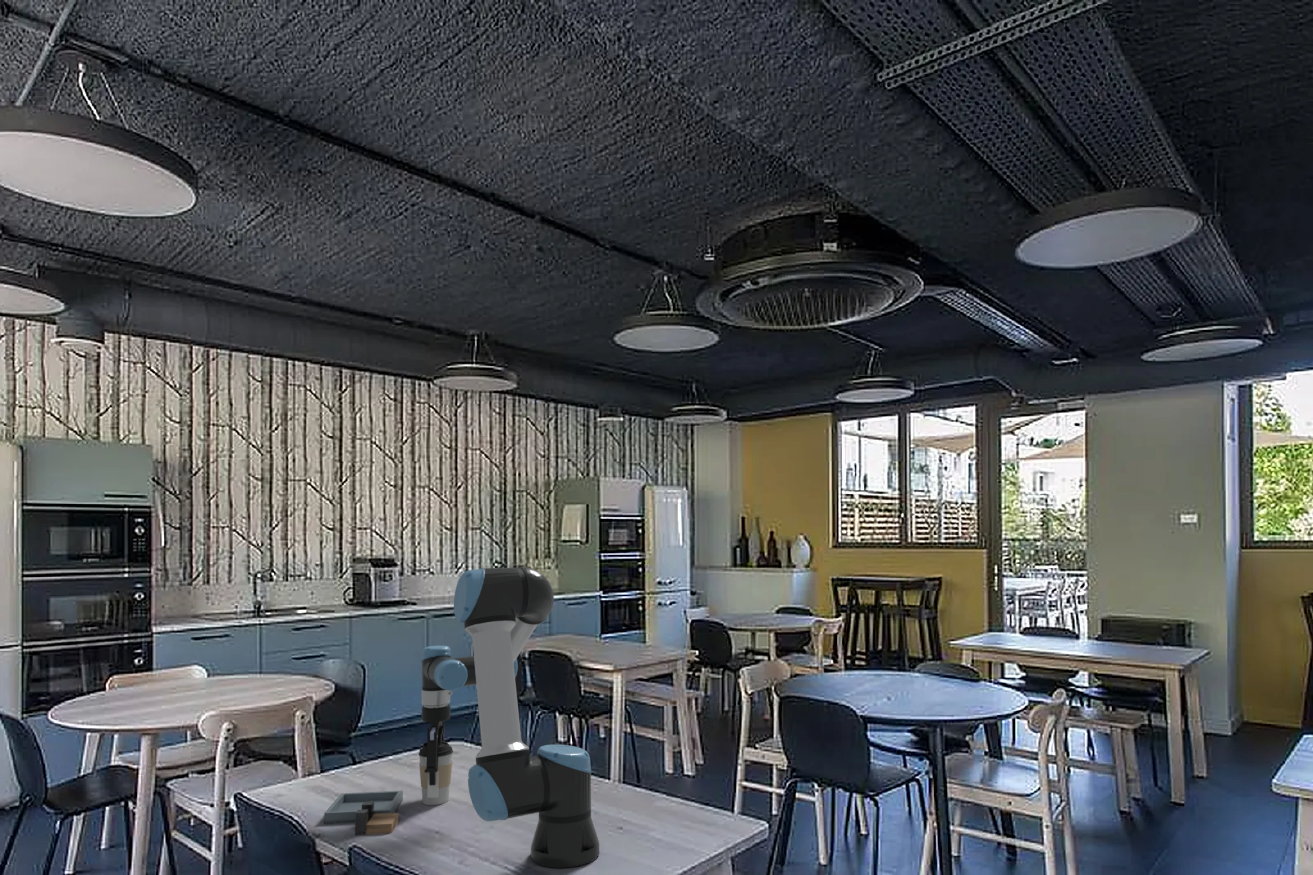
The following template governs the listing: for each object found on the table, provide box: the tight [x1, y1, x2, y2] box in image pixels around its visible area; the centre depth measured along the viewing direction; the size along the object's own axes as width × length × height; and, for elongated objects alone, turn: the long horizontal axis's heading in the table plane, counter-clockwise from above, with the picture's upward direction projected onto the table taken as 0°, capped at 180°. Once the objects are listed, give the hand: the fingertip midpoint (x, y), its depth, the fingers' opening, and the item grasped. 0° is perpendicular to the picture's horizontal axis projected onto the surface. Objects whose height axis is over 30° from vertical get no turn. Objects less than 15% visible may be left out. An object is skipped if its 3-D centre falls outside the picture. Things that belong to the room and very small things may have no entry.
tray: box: [323, 790, 404, 825], centre depth 227 cm, size 16×16×2 cm
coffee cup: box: [418, 741, 454, 806], centre depth 235 cm, size 9×9×15 cm
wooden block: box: [365, 812, 400, 835], centre depth 215 cm, size 8×6×2 cm
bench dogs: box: [354, 802, 374, 836], centre depth 214 cm, size 8×2×5 cm, turn 5°
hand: (435, 791), depth 234 cm, fingers closed on coffee cup, 9 cm apart
